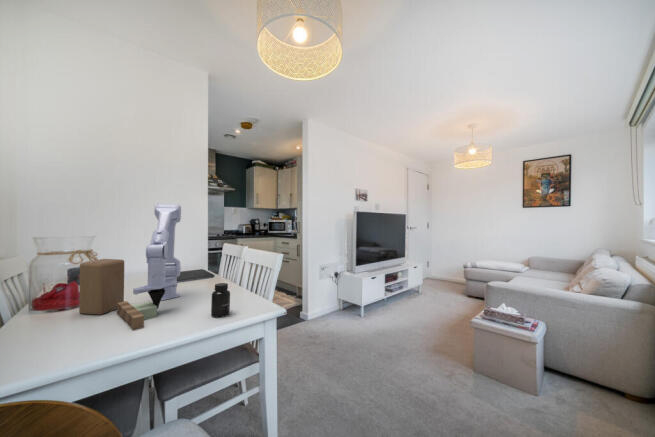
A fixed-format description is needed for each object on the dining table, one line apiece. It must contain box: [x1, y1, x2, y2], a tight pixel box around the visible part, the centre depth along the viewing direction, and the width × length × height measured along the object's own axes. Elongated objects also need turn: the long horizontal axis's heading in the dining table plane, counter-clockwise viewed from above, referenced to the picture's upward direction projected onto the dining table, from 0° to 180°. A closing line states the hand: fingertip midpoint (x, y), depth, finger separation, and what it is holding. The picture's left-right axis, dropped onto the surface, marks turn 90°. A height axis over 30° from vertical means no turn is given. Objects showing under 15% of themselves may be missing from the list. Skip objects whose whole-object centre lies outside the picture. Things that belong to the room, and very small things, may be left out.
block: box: [78, 258, 125, 316], centre depth 100 cm, size 10×10×20 cm
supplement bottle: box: [210, 282, 231, 318], centre depth 98 cm, size 7×7×12 cm
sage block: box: [131, 301, 158, 321], centre depth 95 cm, size 8×6×4 cm
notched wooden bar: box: [116, 300, 145, 331], centre depth 92 cm, size 22×3×4 cm, turn 51°
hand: (156, 308), depth 98 cm, fingers closed
